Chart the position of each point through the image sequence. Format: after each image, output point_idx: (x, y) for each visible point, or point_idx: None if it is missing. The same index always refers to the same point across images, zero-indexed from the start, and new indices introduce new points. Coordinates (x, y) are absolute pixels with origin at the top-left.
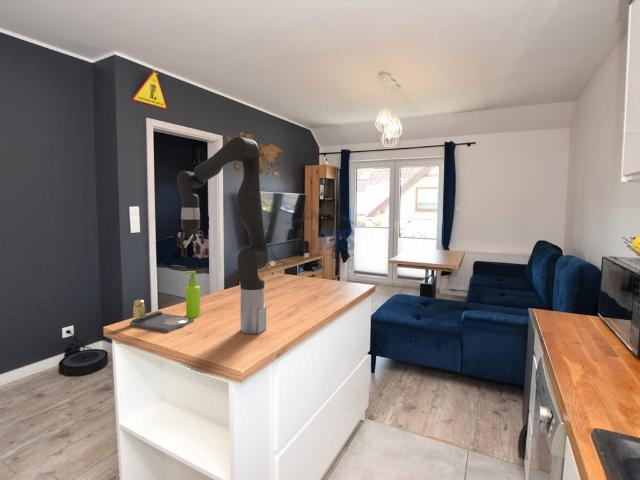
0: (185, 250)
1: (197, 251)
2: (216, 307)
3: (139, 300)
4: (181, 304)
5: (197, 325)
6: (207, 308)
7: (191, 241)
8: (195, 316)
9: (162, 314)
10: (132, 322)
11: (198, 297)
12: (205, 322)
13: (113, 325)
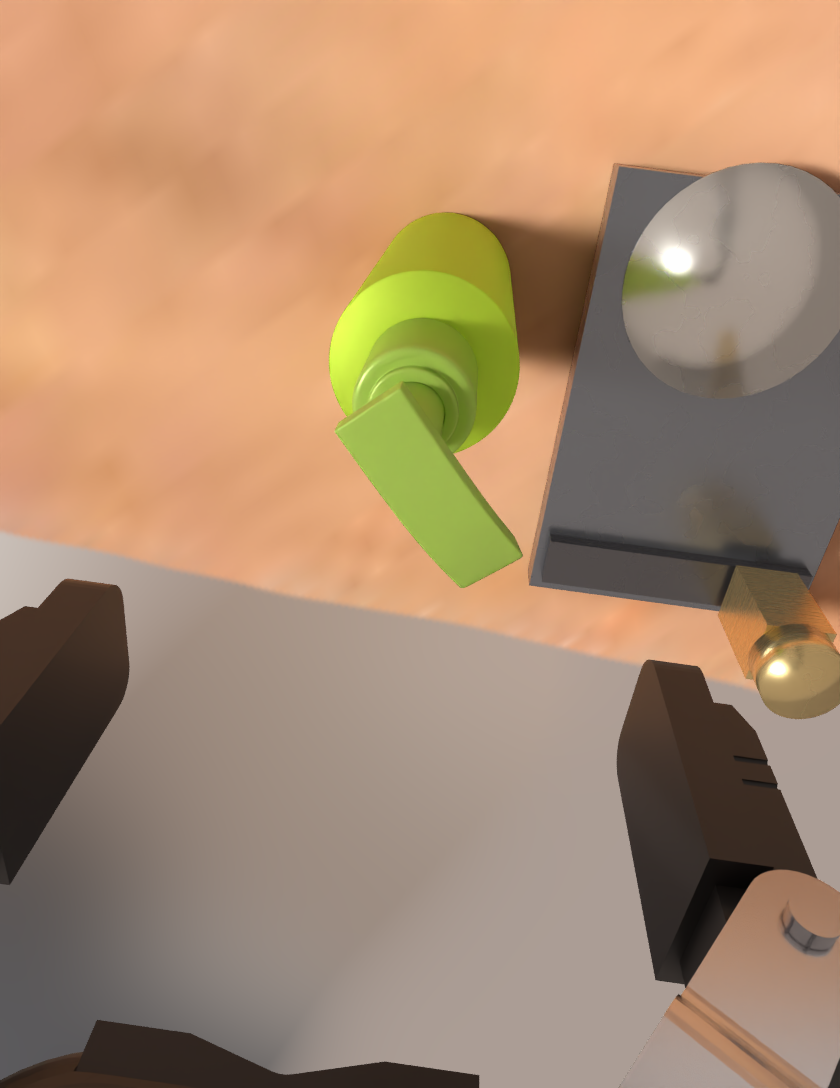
0: (749, 798)
1: (86, 681)
2: (127, 207)
3: (794, 688)
4: (201, 570)
5: (722, 42)
6: (197, 281)
7: (396, 1081)
8: (487, 229)
9: (575, 512)
10: None
11: (443, 244)
12: (615, 11)
13: None
